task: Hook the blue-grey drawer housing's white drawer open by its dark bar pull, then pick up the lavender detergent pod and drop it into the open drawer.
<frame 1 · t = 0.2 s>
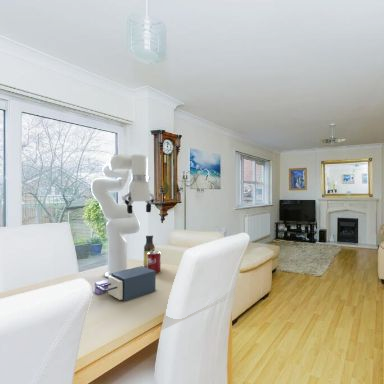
hand: (139, 212, 131), 37 cm above the table, tool pointing down, fingers open, 9 cm apart
white drawer: (122, 285, 117), point 5 cm above the table, slide at 0.5 cm
soda can: (153, 273, 149), on the table
blue-grey drawer housing: (133, 292, 122), on the table
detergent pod: (102, 291, 122), on the table
sauce bottle: (149, 267, 160), on the table
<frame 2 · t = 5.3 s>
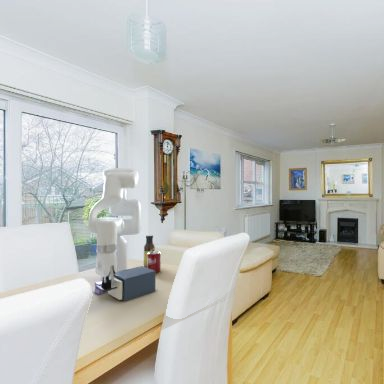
hand: (106, 290, 112), 4 cm above the table, tool pointing down, fingers closed
white drawer: (122, 285, 117), point 5 cm above the table, slide at 0.6 cm, touching gripper
everything else where it was.
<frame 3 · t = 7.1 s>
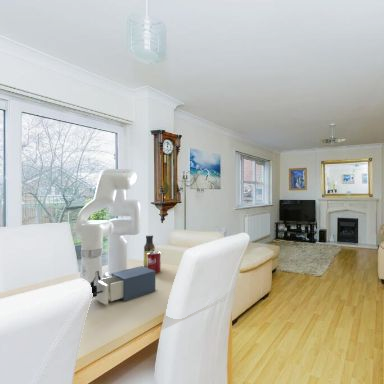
hand: (91, 296, 107), 4 cm above the table, tool pointing down, fingers closed
white drawer: (108, 289, 113), point 5 cm above the table, slide at 6.3 cm, touching gripper
everything else where it was.
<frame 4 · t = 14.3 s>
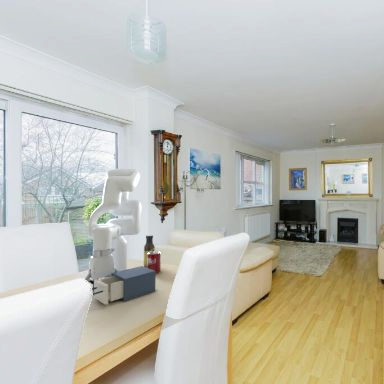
hand: (102, 291, 122), 0 cm above the table, tool pointing down, fingers closed on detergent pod, 4 cm apart
white drawer: (108, 289, 113), point 5 cm above the table, slide at 6.3 cm
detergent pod: (102, 291, 122), on the table, touching gripper
everything else where it was.
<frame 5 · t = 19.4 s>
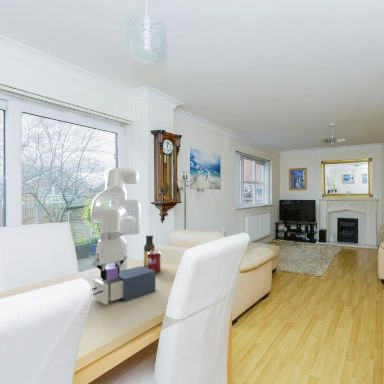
hand: (110, 277, 113), 10 cm above the table, tool pointing down, fingers closed on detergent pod, 4 cm apart
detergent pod: (110, 277, 113), point 10 cm above the table, touching gripper
everything else where it was.
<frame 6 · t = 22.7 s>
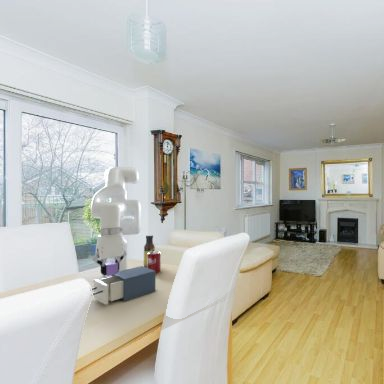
hand: (110, 272, 113), 12 cm above the table, tool pointing down, fingers closed on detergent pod, 4 cm apart
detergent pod: (110, 273, 113), point 11 cm above the table, touching gripper
everything else where it was.
when the fingers open (12 cm above the table, at t = 31.5 s): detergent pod drops 10 cm, resting on white drawer.
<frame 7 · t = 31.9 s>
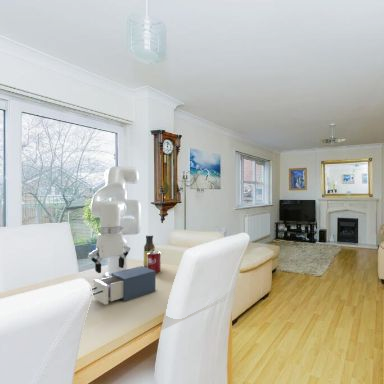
hand: (110, 269, 113), 13 cm above the table, tool pointing down, fingers open, 8 cm apart
white drawer: (108, 289, 113), point 5 cm above the table, slide at 6.3 cm, touching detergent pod
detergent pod: (110, 295, 113), point 2 cm above the table, touching white drawer
everything else where it was.
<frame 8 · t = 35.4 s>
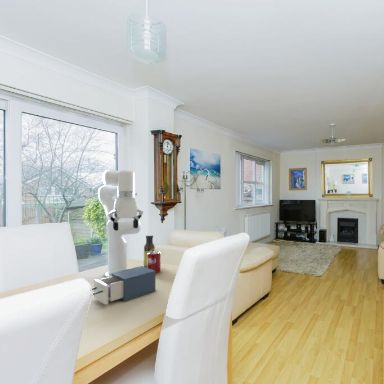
hand: (126, 229, 130), 28 cm above the table, tool pointing down, fingers open, 9 cm apart
nothing on the table moved.
at the end: white drawer slide at 6.3 cm; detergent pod inside the target area in the white drawer (2.5 cm from its centre), point 2.0 cm above the blue-grey drawer housing's base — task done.
